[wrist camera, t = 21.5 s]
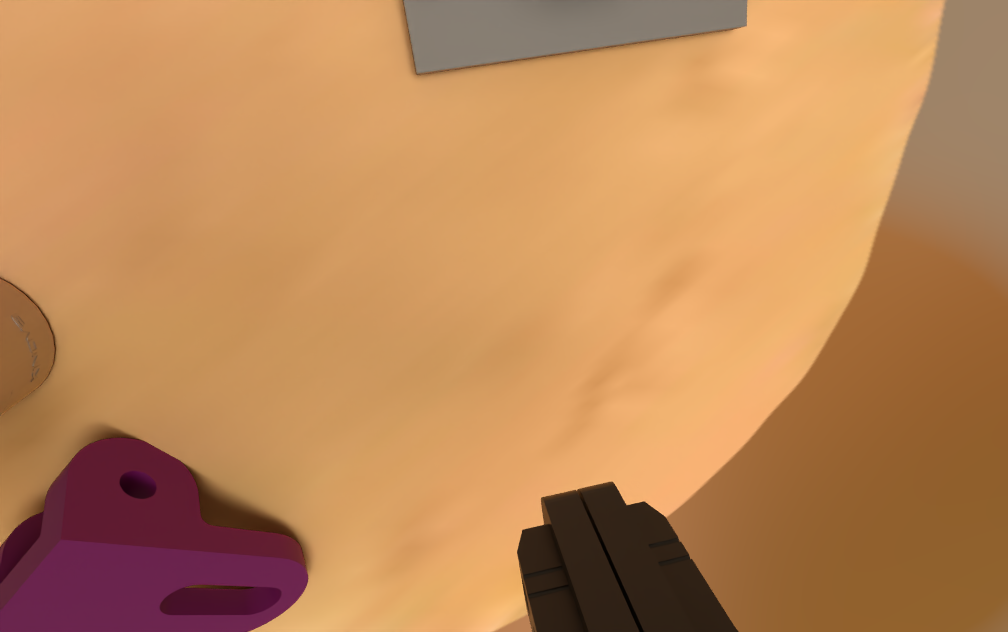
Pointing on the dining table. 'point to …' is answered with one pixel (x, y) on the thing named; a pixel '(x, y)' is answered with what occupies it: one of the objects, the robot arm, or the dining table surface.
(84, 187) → the dining table surface
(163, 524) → the mounting bracket
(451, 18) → the mounting board
